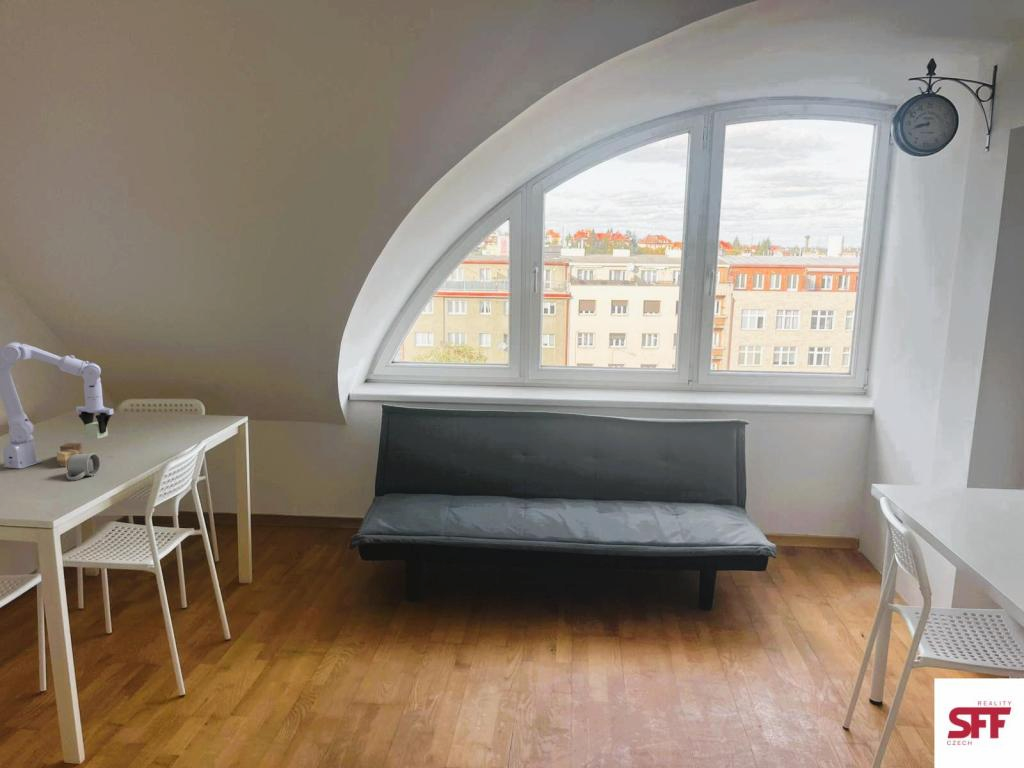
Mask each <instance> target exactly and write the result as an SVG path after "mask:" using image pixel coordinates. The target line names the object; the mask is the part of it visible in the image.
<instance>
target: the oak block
mask: <svg viewBox="0 0 1024 768" xmlns="http://www.w3.org/2000/svg"><path fill="white" fill-rule="evenodd" d="M76 454H79V451H77V450H73V449H67V450H63V451H60V450H59V451H56V462H57V466H59V465H62V466H61V467H63V466H65V467H64V468H67V466H66V465H67V461H68V459H69V457H70V456H72V455H76Z"/></svg>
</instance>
